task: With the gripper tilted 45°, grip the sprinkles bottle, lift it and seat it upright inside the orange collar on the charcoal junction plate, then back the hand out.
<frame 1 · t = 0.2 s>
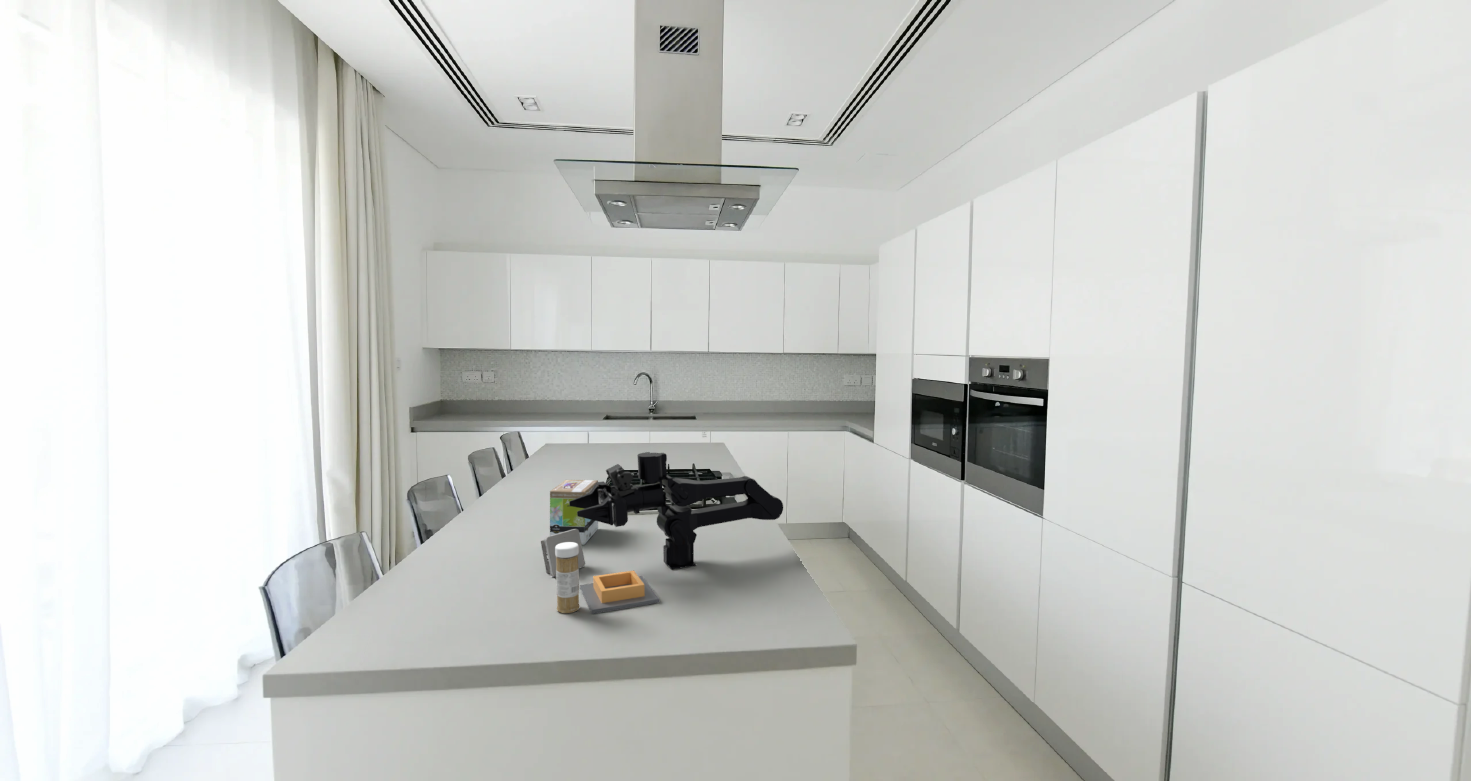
hand: (573, 508, 141), 17 cm above the countertop, tool horizontal, fingers open, 9 cm apart
electrical switch: (562, 571, 149), on the countertop
sprinkles bottle: (568, 610, 127), on the countertop
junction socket: (618, 595, 134), on the countertop
tea box: (575, 537, 175), on the countertop
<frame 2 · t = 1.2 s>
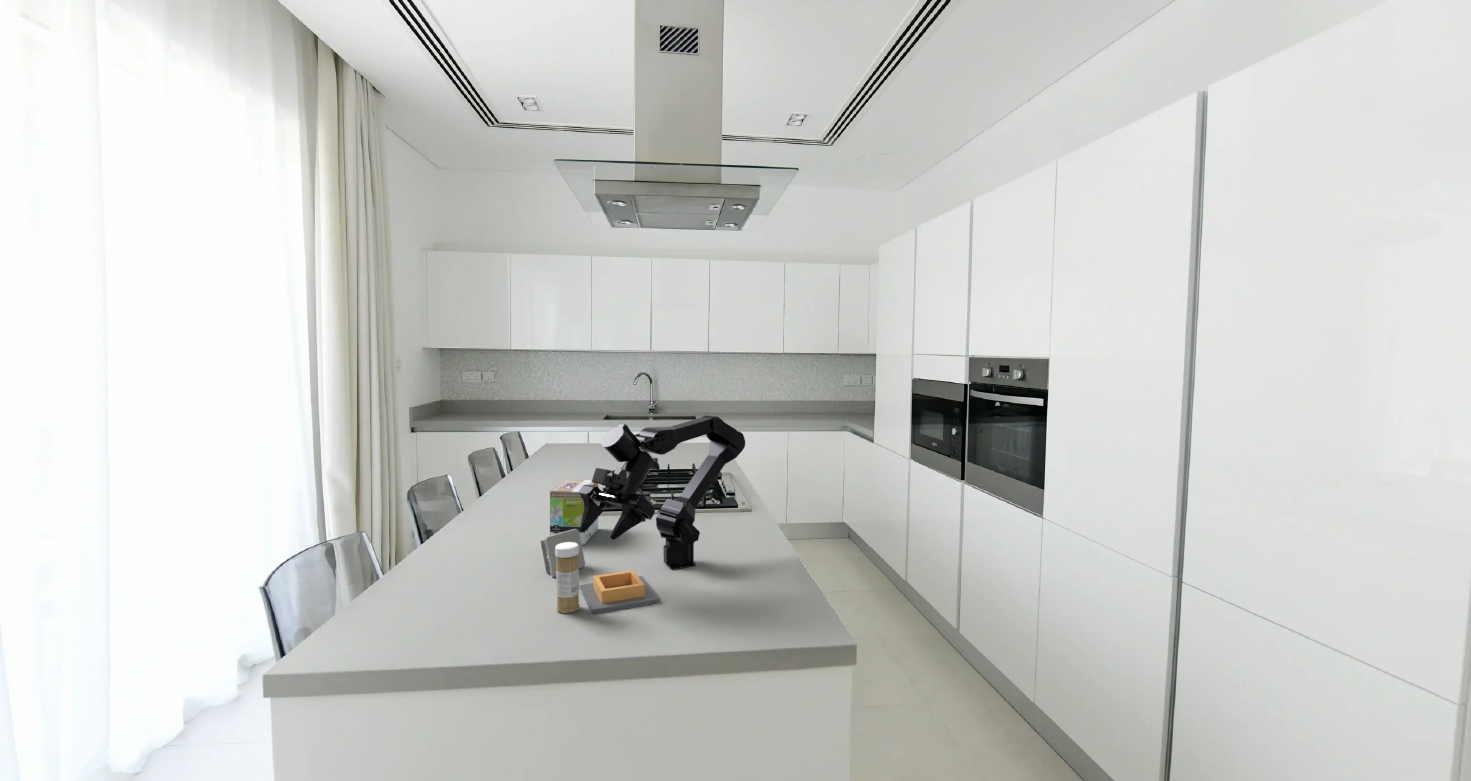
hand: (596, 535, 133), 13 cm above the countertop, tool tilted 45°, fingers open, 9 cm apart
nothing on the countertop moved.
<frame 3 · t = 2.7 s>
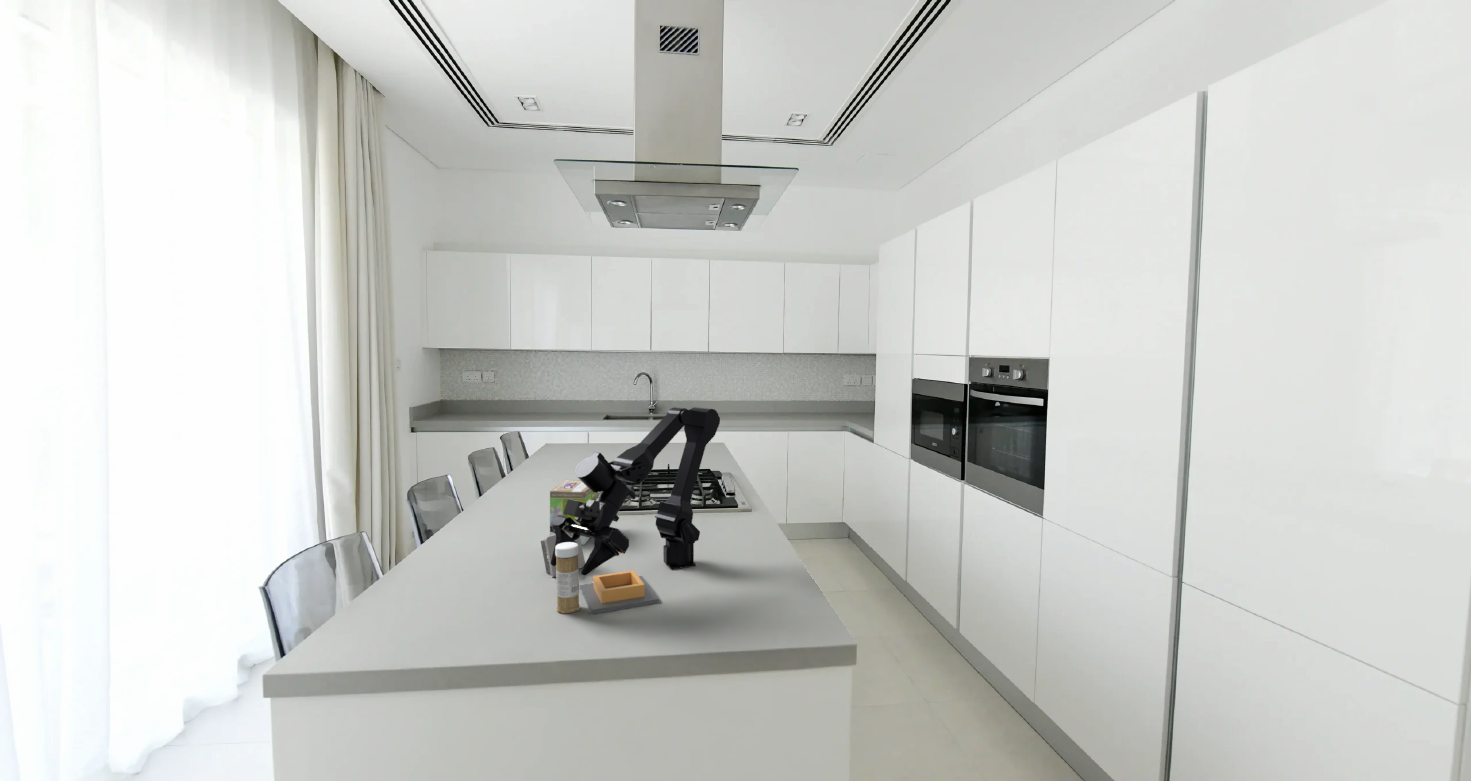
hand: (567, 569, 127), 8 cm above the countertop, tool tilted 45°, fingers open, 9 cm apart
nothing on the countertop moved.
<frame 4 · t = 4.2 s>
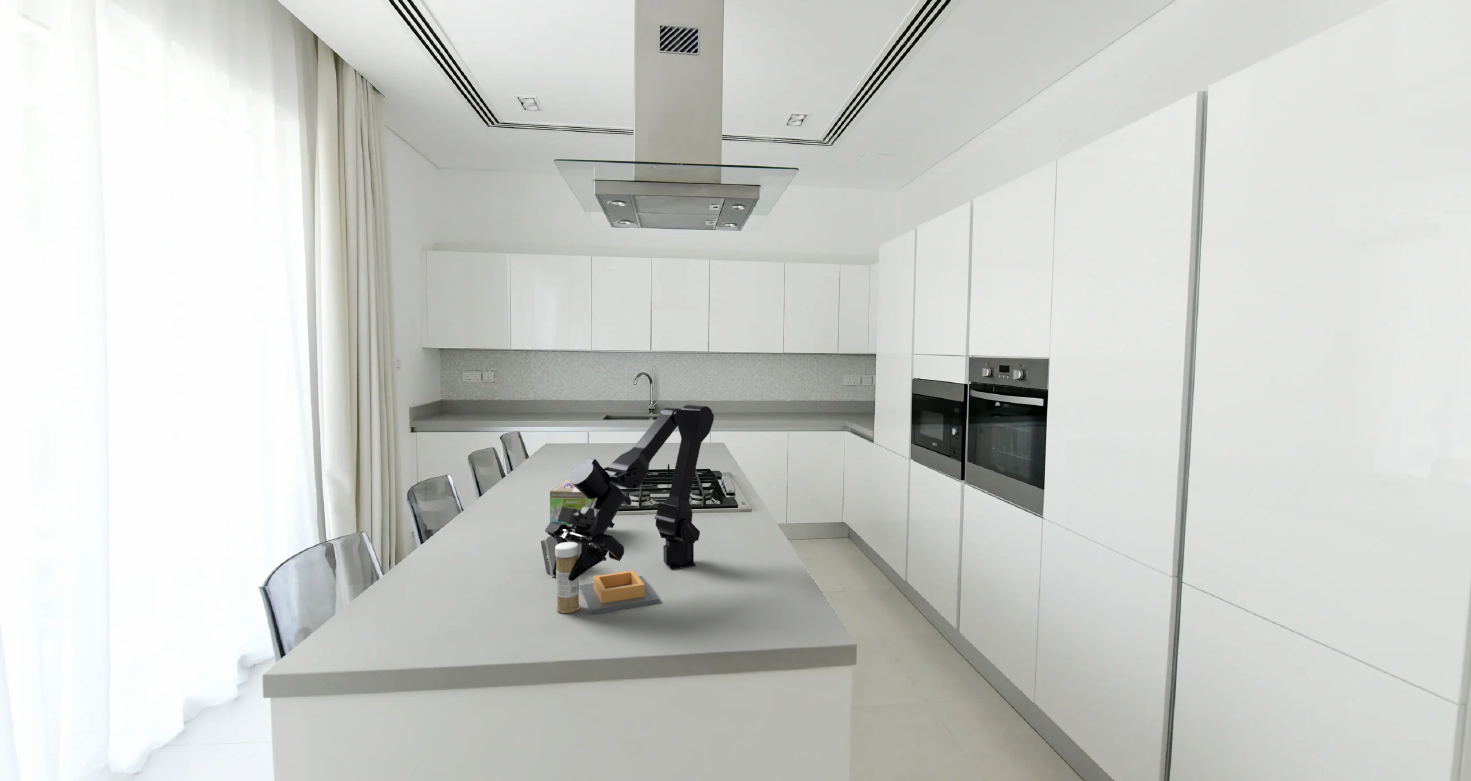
hand: (561, 577, 126), 7 cm above the countertop, tool tilted 45°, fingers closed on sprinkles bottle, 4 cm apart
sprinkles bottle: (568, 610, 127), on the countertop, touching gripper
everything else where it was.
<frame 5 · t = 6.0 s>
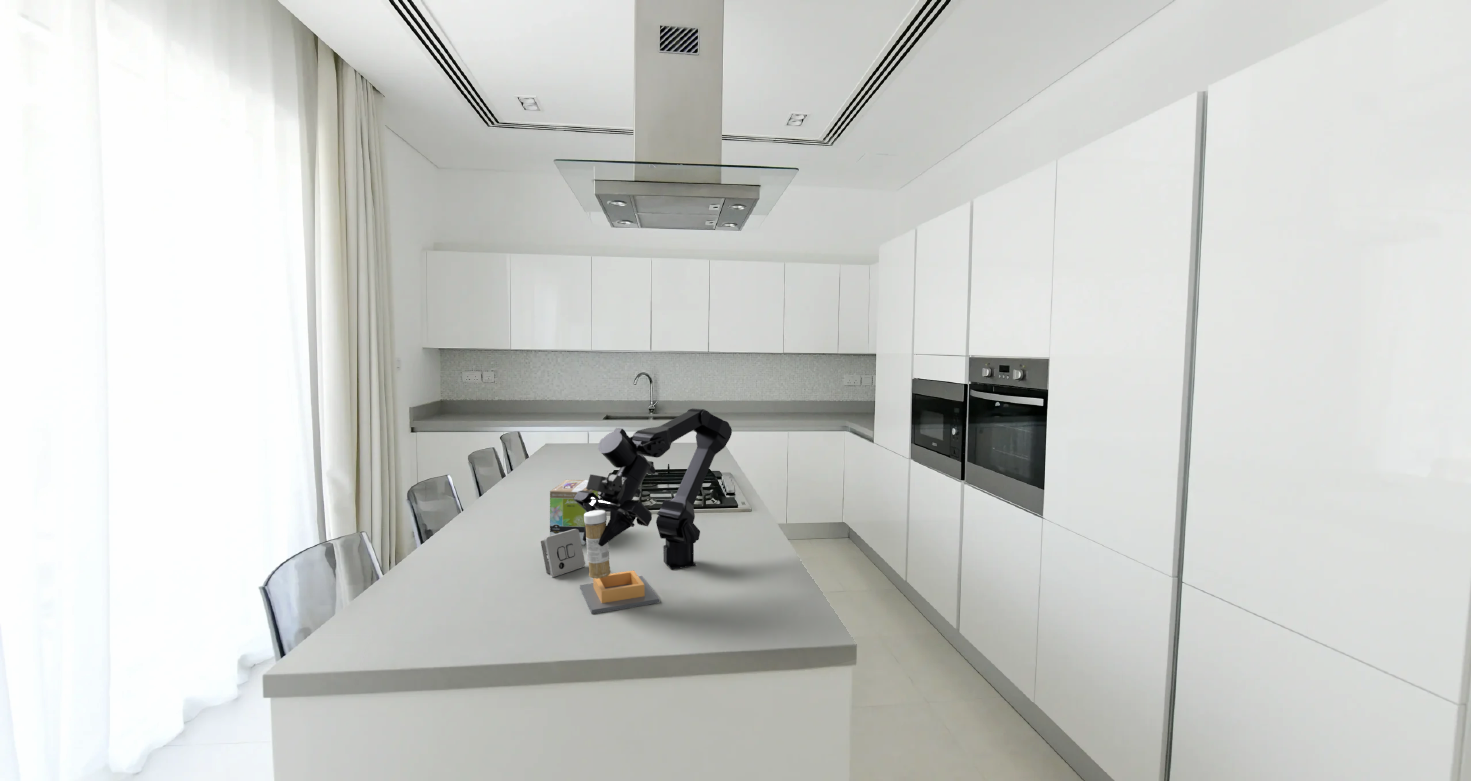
hand: (592, 543, 130), 13 cm above the countertop, tool tilted 45°, fingers closed on sprinkles bottle, 4 cm apart
sprinkles bottle: (599, 576, 131), point 5 cm above the countertop, touching gripper
everything else where it was.
when the fingers open (9 cm above the countertop, at t = 8.0 s): sprinkles bottle drops 1 cm, resting on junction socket.
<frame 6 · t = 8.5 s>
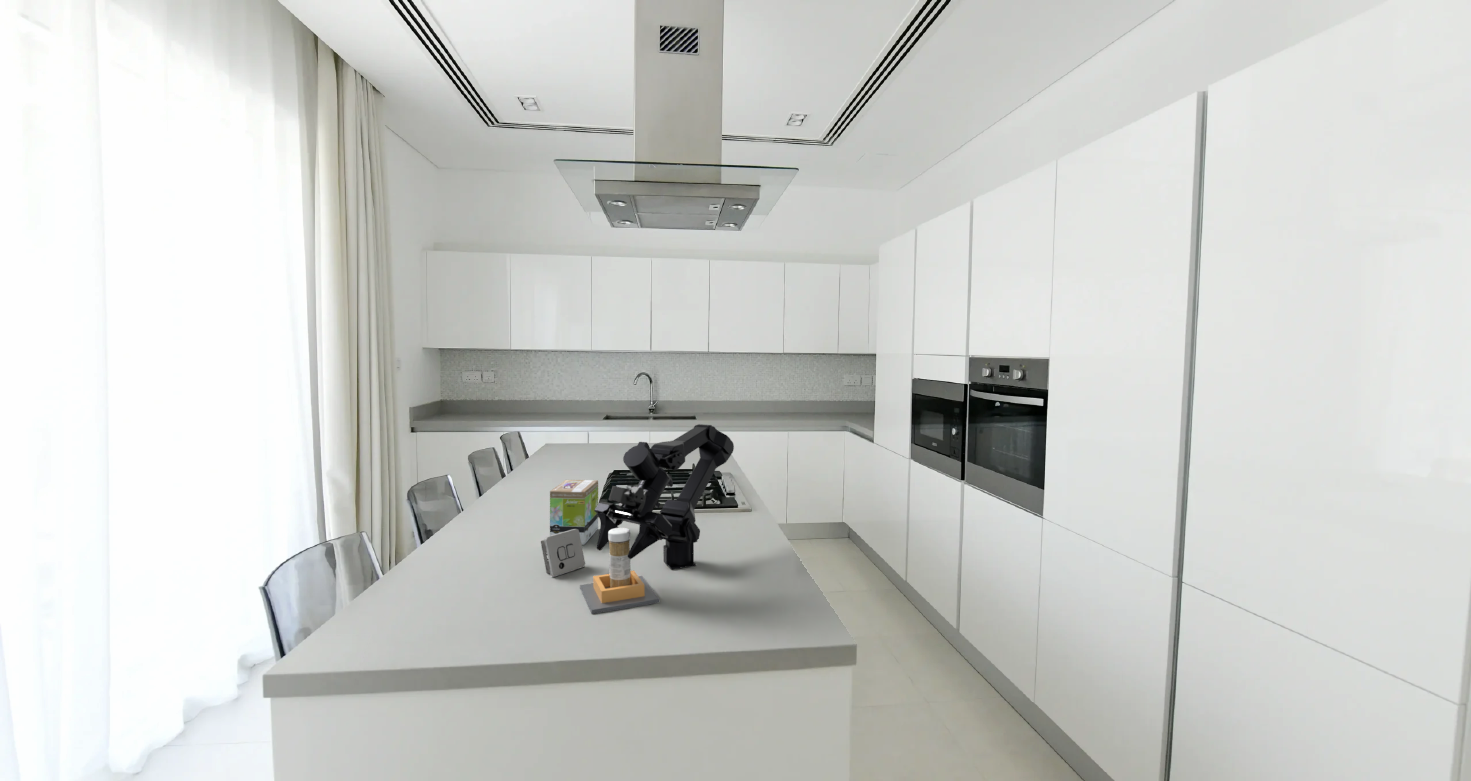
hand: (613, 553, 133), 10 cm above the countertop, tool tilted 45°, fingers open, 9 cm apart
sprinkles bottle: (620, 592, 134), point 1 cm above the countertop, touching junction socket
everything else where it was.
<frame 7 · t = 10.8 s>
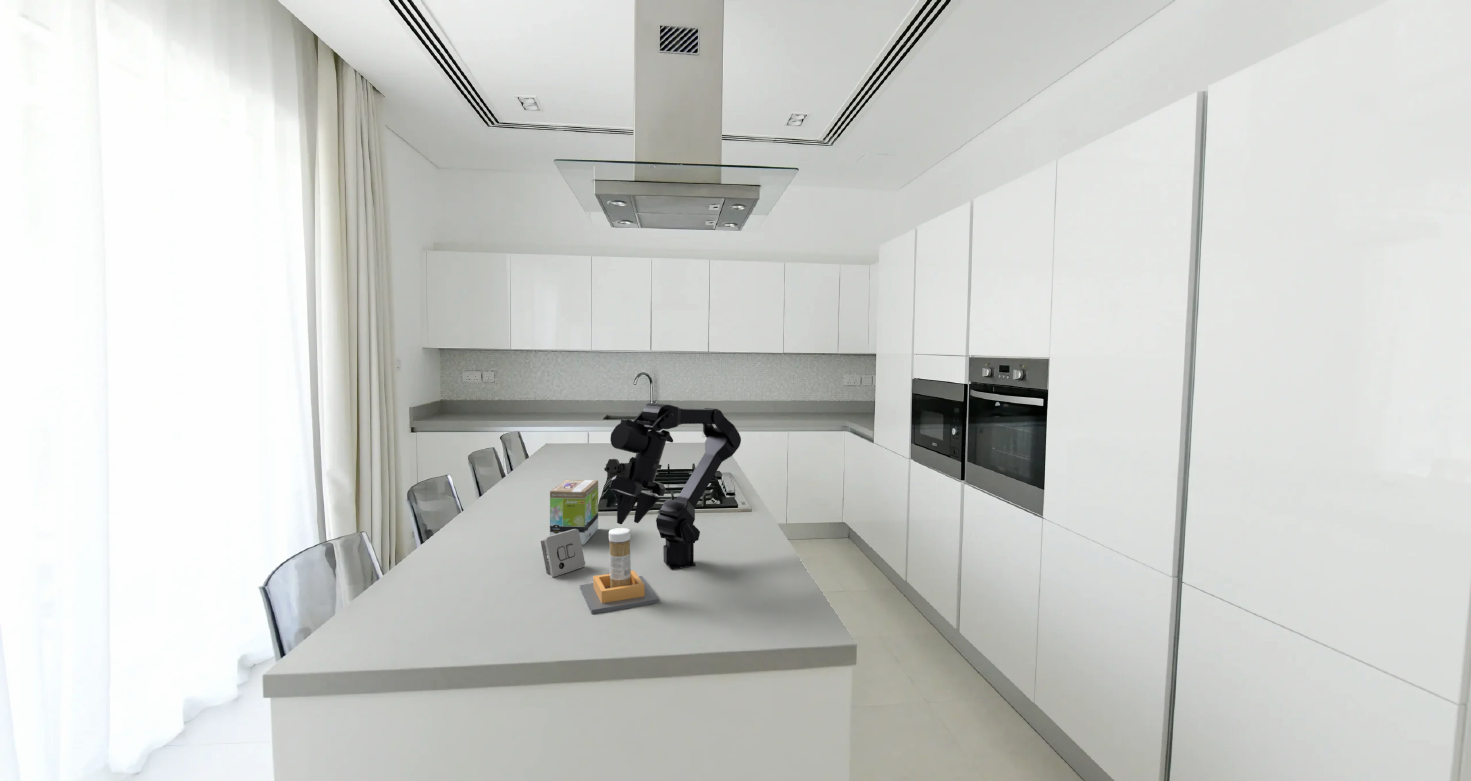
hand: (627, 523, 142), 13 cm above the countertop, tool tilted 20°, fingers open, 9 cm apart
nothing on the countertop moved.
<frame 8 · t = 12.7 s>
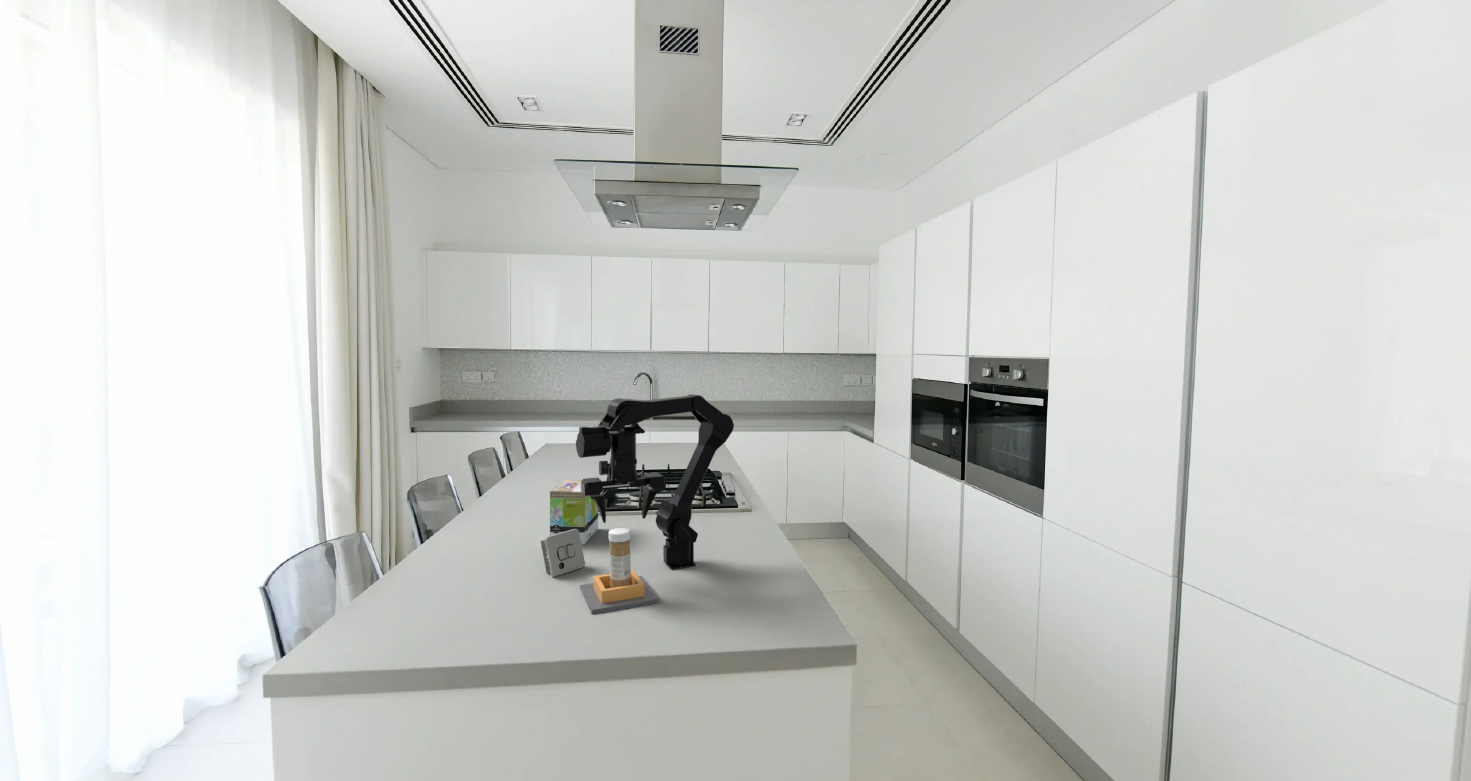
hand: (624, 520, 145), 13 cm above the countertop, tool pointing down, fingers open, 9 cm apart
nothing on the countertop moved.
at the end: sprinkles bottle 0.4 cm off-centre on the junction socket, point 0.6 cm above the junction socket's base; sprinkles bottle tilted 0°; the gripper is holding nothing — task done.
